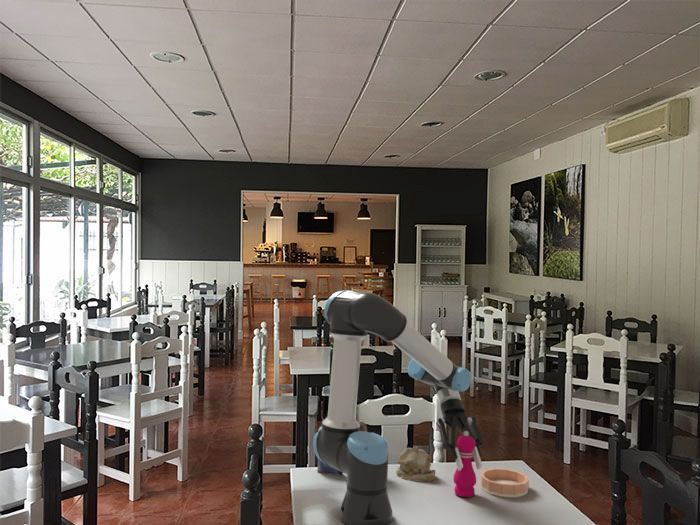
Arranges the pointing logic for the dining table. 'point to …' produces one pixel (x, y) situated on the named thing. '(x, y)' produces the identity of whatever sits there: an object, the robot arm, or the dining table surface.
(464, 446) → the pepper mill
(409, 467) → the ceramic model
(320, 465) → the flask
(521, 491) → the terracotta bowl
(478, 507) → the dining table surface
